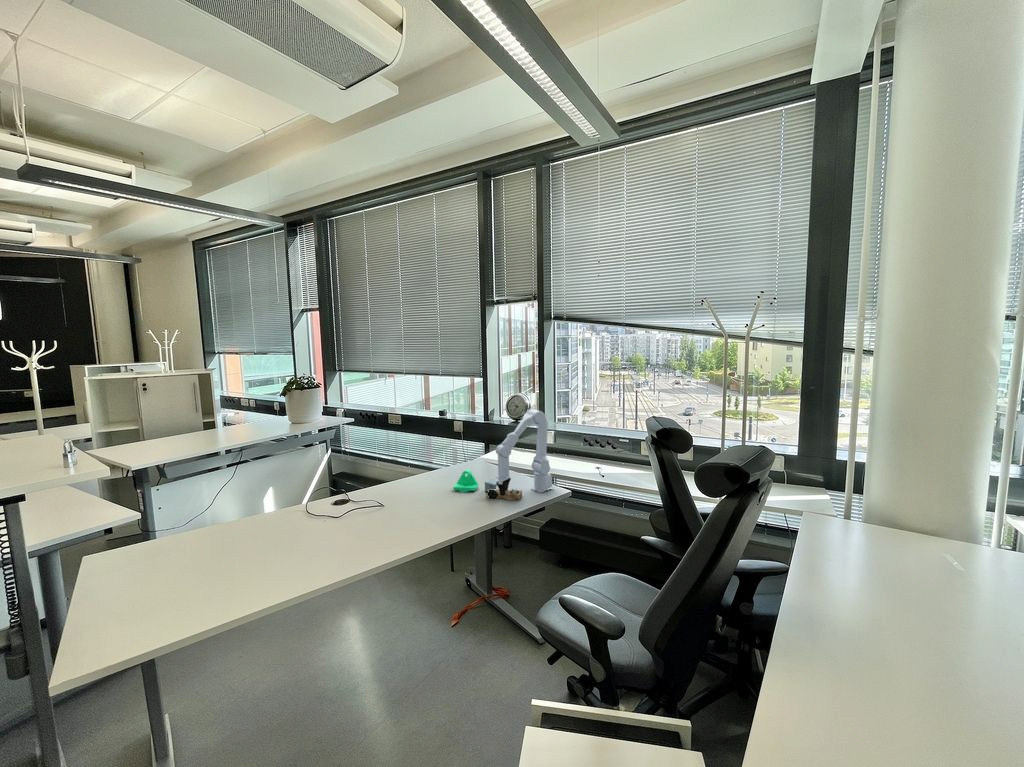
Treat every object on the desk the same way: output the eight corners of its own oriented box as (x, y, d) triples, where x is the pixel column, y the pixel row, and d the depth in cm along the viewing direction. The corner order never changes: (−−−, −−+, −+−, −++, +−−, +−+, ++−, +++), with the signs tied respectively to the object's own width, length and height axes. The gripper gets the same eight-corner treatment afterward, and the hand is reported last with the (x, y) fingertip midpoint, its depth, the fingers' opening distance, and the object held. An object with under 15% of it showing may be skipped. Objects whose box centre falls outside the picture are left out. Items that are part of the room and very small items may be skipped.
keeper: (484, 491, 240) (484, 481, 240) (491, 488, 244) (491, 479, 243) (494, 494, 235) (494, 484, 235) (501, 491, 239) (501, 482, 239)
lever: (521, 496, 232) (521, 490, 232) (519, 500, 226) (519, 494, 226) (489, 494, 236) (489, 488, 236) (486, 498, 230) (486, 492, 229)
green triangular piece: (453, 491, 241) (452, 473, 240) (457, 487, 248) (457, 469, 247) (474, 492, 239) (474, 474, 238) (478, 488, 246) (477, 470, 245)
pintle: (514, 496, 231) (514, 488, 231) (517, 498, 230) (517, 489, 229) (511, 497, 230) (510, 489, 229) (513, 499, 228) (513, 490, 228)
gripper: (499, 463, 237) (500, 488, 239) (492, 471, 223) (492, 497, 225) (512, 464, 236) (513, 489, 237) (505, 472, 222) (506, 498, 223)
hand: (503, 493), depth 231 cm, fingers closed on lever, 4 cm apart
